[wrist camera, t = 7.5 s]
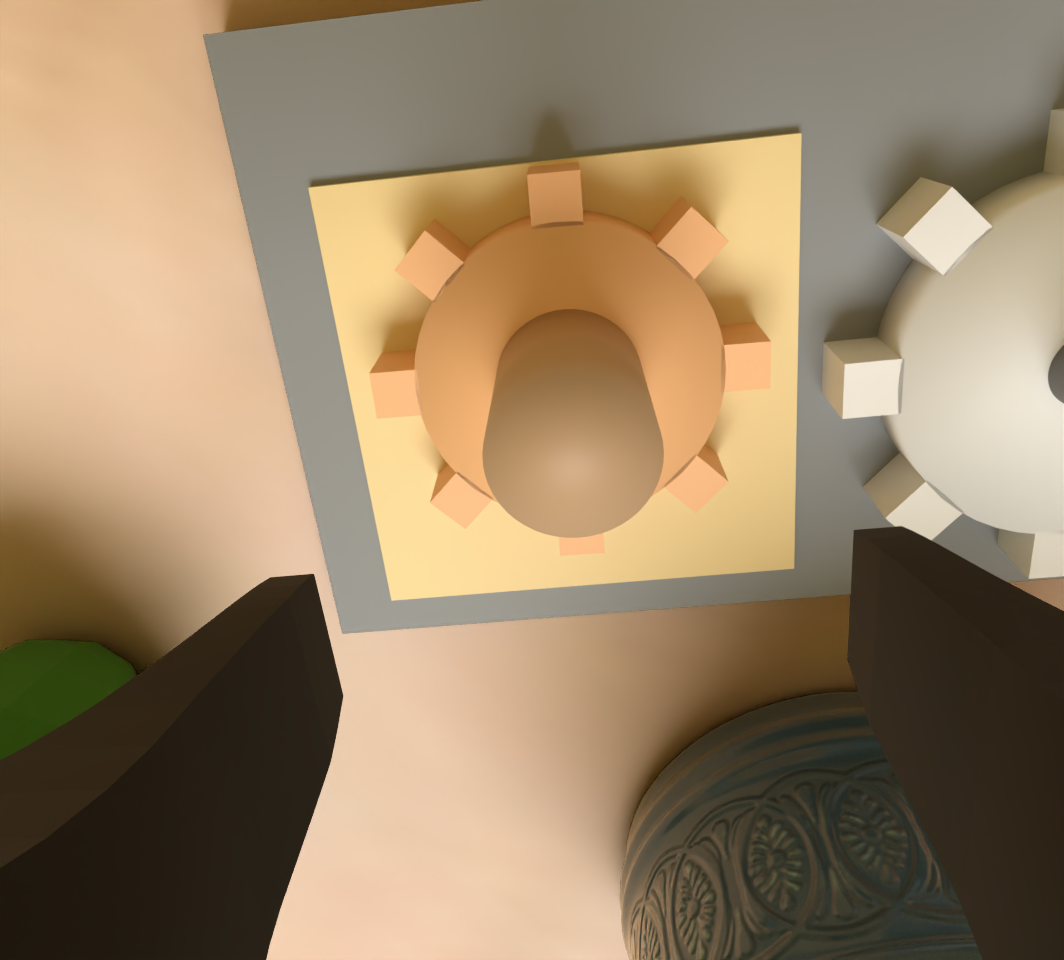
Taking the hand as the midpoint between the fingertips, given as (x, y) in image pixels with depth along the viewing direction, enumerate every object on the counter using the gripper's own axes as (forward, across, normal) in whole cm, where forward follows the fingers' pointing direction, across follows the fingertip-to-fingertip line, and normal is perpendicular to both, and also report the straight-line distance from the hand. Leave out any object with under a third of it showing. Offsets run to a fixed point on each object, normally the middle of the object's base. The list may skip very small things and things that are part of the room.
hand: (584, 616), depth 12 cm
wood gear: (+9, 0, -1) cm, 9 cm away
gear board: (+10, -4, -1) cm, 11 cm away
